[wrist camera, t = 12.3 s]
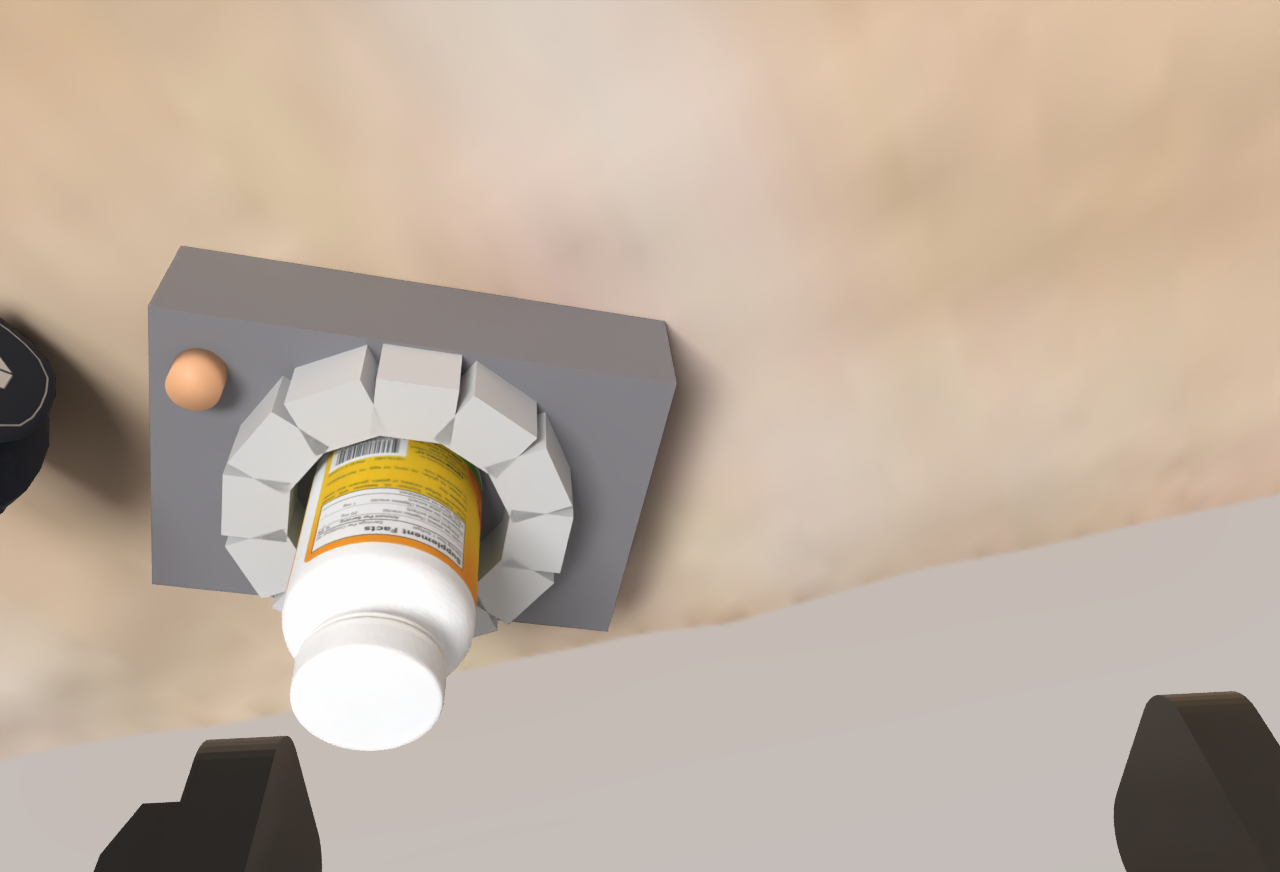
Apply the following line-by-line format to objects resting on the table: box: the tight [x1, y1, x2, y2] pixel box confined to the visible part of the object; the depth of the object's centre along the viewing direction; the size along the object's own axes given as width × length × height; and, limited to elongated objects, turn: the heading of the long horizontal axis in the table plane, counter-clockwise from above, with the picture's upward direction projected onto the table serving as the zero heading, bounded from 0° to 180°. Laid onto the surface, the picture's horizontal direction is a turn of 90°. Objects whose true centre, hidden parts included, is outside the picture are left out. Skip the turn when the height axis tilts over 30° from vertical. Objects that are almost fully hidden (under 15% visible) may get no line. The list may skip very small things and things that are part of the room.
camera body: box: [148, 246, 677, 637], centre depth 40 cm, size 16×11×6 cm
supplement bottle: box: [282, 436, 482, 751], centre depth 35 cm, size 5×5×10 cm
